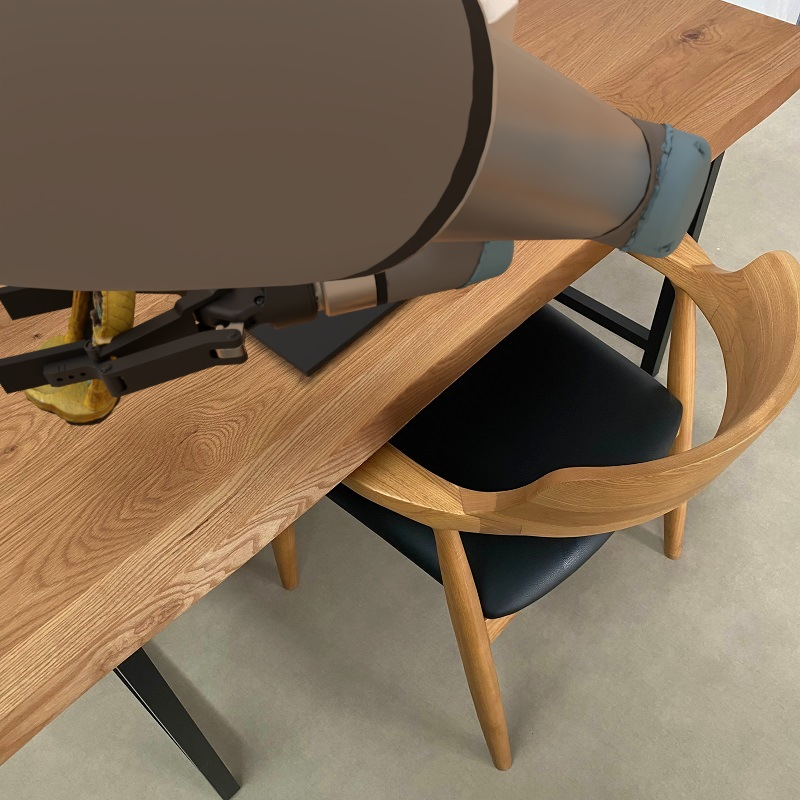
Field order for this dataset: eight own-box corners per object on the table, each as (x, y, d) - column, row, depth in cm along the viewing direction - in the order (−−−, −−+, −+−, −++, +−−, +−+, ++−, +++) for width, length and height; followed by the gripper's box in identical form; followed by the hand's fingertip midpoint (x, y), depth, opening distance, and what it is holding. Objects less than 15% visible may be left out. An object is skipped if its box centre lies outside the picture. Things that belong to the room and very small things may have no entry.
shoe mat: (308, 377, 78) (306, 371, 77) (208, 304, 85) (206, 298, 85) (555, 184, 95) (555, 178, 94) (453, 137, 102) (453, 132, 102)
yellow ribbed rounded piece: (183, 349, 67) (125, 203, 56) (173, 425, 62) (106, 280, 51) (48, 363, 67) (-38, 219, 56) (27, 440, 62) (-73, 298, 51)
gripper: (343, 398, 57) (18, 477, 55) (295, 231, 70) (28, 289, 67) (330, 324, 51) (-35, 409, 49) (280, 156, 64) (-13, 216, 61)
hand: (2, 339), depth 58 cm, fingers closed on yellow ribbed rounded piece, 7 cm apart
